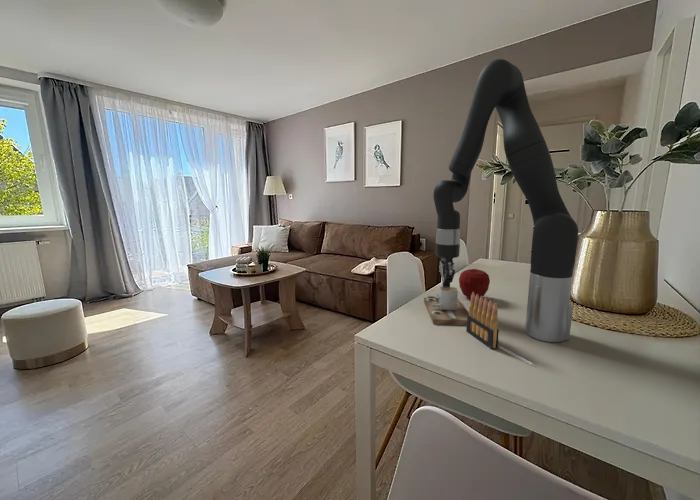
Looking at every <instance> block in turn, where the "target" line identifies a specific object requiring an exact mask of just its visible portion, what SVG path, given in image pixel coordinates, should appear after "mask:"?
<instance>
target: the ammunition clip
mask: <svg viewBox="0 0 700 500" xmlns="http://www.w3.org/2000/svg"><path fill="white" fill-rule="evenodd" d="M469 301H470V302H469V307H468V313H469V315H468V317H467V325H466V329H465V331H466V333H467V334H469V335H470V336H472V337H473V338H475V339H476V340H478V341H479V342H480V343H482V344H483V345H484V346H486V347H487V348H488V349H489V350H497V349H499V348H498V345H499V331H500V329H498V325H499V324H498V322H499V319H498V304H497V302H496V301H495V302H494V303H493V301H492V299H490V300H489V301H488V298H487V297H485V298H484V296H483V297H482V296H481V297H480V299H479V295H478V294H477V295H476V297H475V294H474V292H472V295H471V299H470V300H469Z"/></svg>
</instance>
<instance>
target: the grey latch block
mask: <svg viewBox="0 0 700 500" xmlns="http://www.w3.org/2000/svg"><path fill="white" fill-rule="evenodd" d="M458 293H459V292H458V289H457V287H455V286H450V287H442V286H439V287H438V295H439V304H432V307H440V309H441V310H457V298H458V295H459V294H458Z"/></svg>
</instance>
